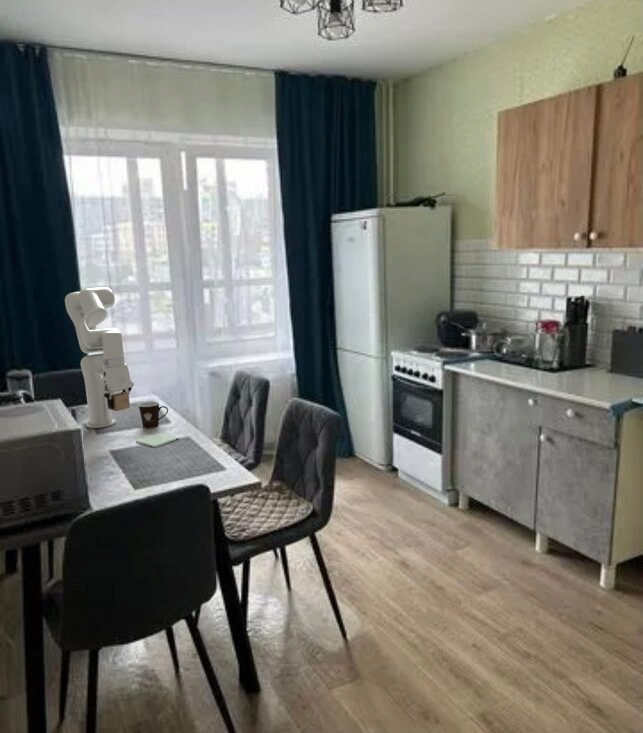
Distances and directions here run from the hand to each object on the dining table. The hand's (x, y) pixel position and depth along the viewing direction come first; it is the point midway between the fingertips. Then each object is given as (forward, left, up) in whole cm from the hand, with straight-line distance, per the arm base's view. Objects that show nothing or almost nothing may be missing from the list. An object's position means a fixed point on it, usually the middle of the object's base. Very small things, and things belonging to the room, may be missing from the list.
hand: (118, 405), depth 237 cm
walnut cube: (0, 0, -1) cm, 1 cm away
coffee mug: (-6, +20, -15) cm, 26 cm away
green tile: (+12, +8, -15) cm, 21 cm away
